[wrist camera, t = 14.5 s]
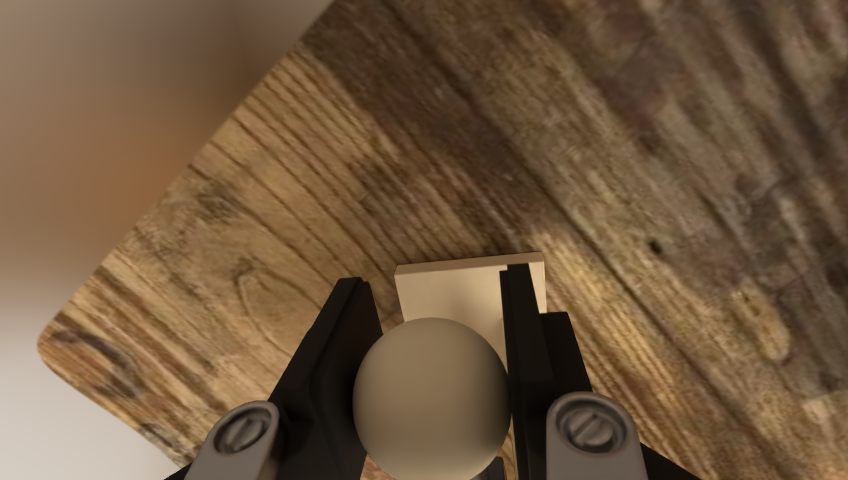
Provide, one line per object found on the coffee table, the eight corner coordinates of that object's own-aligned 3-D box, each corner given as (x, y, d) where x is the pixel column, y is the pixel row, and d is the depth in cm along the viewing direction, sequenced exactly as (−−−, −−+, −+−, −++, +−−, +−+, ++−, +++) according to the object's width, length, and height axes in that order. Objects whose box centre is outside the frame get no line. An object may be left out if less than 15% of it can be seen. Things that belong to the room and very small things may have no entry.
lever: (345, 293, 9) (308, 461, 7) (500, 279, 8) (518, 459, 6) (442, 463, 18) (441, 558, 16) (519, 462, 18) (530, 561, 15)
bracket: (397, 264, 23) (331, 443, 13) (540, 250, 22) (600, 438, 11) (428, 406, 28) (398, 627, 17) (549, 402, 26) (598, 639, 16)
